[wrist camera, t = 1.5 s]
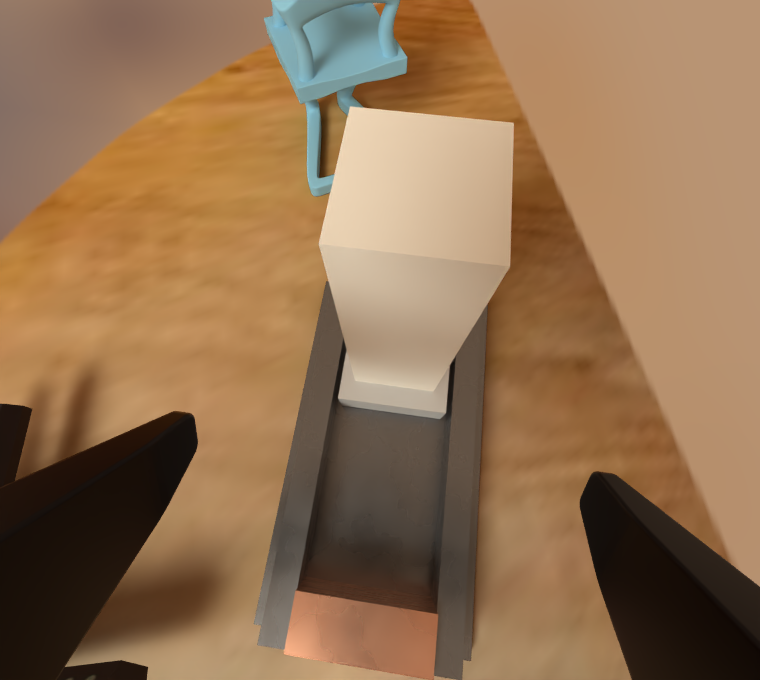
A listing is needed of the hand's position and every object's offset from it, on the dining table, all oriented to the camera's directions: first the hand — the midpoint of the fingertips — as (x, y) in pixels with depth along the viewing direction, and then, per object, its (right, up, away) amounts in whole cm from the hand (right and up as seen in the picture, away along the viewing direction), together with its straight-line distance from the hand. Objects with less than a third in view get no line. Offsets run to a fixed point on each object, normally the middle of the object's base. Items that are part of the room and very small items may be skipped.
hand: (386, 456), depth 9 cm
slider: (+1, +1, +14) cm, 14 cm away
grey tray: (0, -3, +12) cm, 13 cm away
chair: (-3, +17, +20) cm, 27 cm away
